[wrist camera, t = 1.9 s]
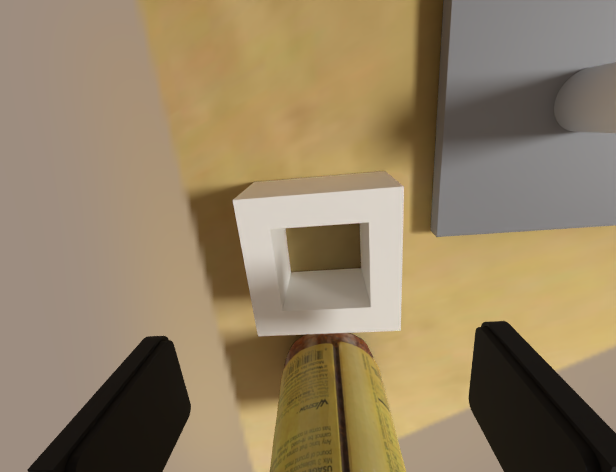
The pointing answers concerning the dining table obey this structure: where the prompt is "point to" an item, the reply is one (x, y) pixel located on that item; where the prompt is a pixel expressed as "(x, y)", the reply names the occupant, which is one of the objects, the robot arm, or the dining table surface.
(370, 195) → the white block
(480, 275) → the dining table surface
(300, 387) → the sauce bottle
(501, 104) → the post base
